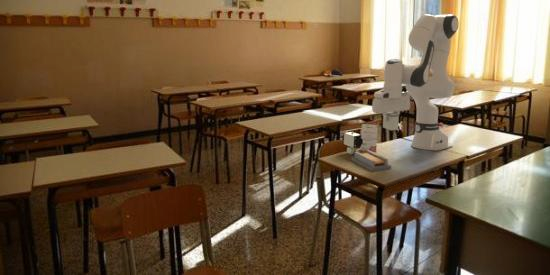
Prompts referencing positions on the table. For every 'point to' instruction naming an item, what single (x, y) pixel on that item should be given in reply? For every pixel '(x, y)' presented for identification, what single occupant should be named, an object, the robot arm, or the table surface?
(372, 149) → the ink cartridge box
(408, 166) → the table surface
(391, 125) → the module block
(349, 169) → the table surface
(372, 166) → the channel rail
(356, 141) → the pneumatic valve
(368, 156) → the brown flat bar
